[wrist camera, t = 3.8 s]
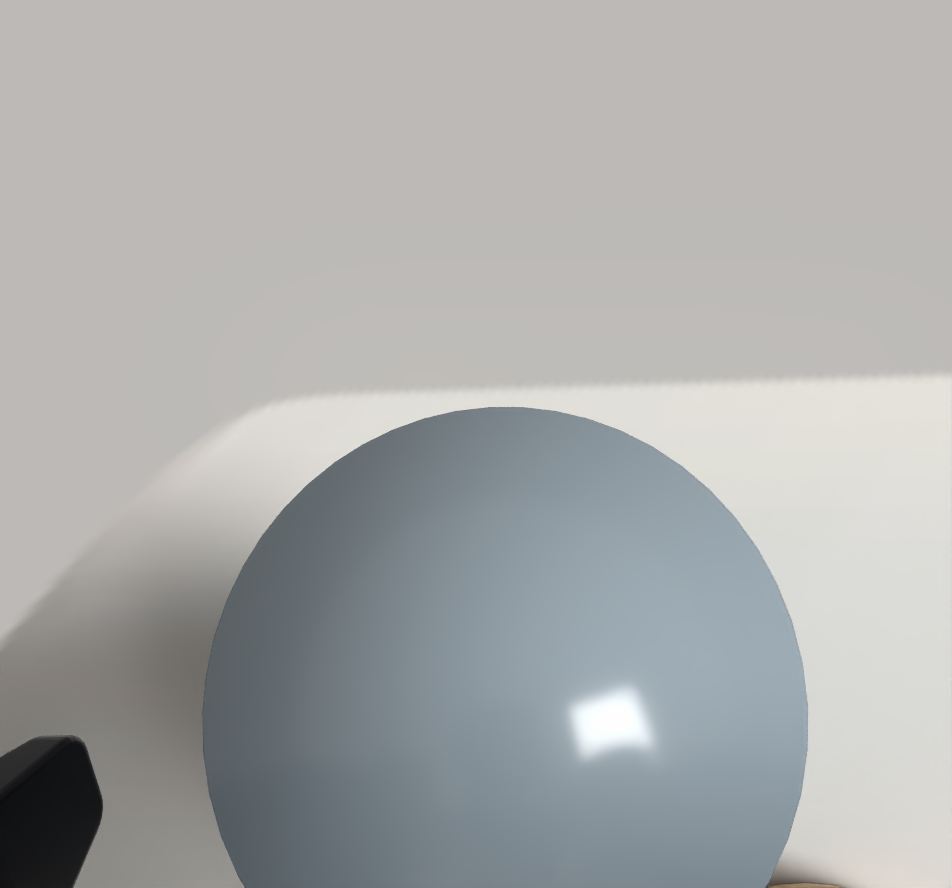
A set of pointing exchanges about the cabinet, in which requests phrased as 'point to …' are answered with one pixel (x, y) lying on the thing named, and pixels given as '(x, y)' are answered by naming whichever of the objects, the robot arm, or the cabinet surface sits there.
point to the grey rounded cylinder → (505, 672)
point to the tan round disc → (804, 886)
